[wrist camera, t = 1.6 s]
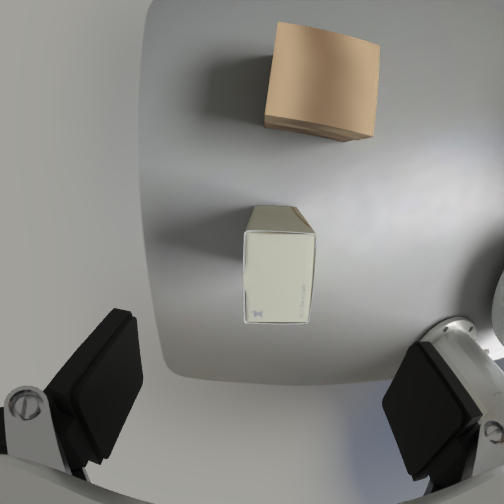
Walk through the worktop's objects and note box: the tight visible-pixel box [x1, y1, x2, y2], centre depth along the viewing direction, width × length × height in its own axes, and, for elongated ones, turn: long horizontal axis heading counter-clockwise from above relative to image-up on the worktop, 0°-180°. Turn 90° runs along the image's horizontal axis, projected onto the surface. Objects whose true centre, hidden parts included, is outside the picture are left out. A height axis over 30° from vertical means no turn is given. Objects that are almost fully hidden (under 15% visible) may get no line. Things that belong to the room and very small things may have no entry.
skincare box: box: [243, 206, 317, 325], centre depth 23 cm, size 6×4×12 cm
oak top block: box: [265, 22, 380, 140], centre depth 19 cm, size 8×8×4 cm
